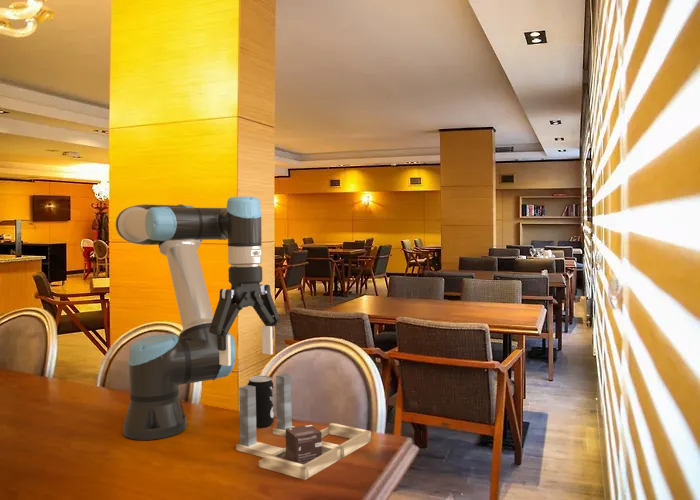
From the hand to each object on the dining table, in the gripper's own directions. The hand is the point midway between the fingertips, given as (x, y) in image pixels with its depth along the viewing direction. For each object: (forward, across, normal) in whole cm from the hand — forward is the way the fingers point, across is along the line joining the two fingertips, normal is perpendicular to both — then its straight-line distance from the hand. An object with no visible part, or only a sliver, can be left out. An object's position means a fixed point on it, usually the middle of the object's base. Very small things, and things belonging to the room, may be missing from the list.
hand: (247, 359), depth 131 cm
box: (+21, 0, -16) cm, 26 cm away
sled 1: (+21, 0, -9) cm, 23 cm away
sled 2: (+21, +13, -9) cm, 26 cm away
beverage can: (+21, +14, +9) cm, 27 cm away
